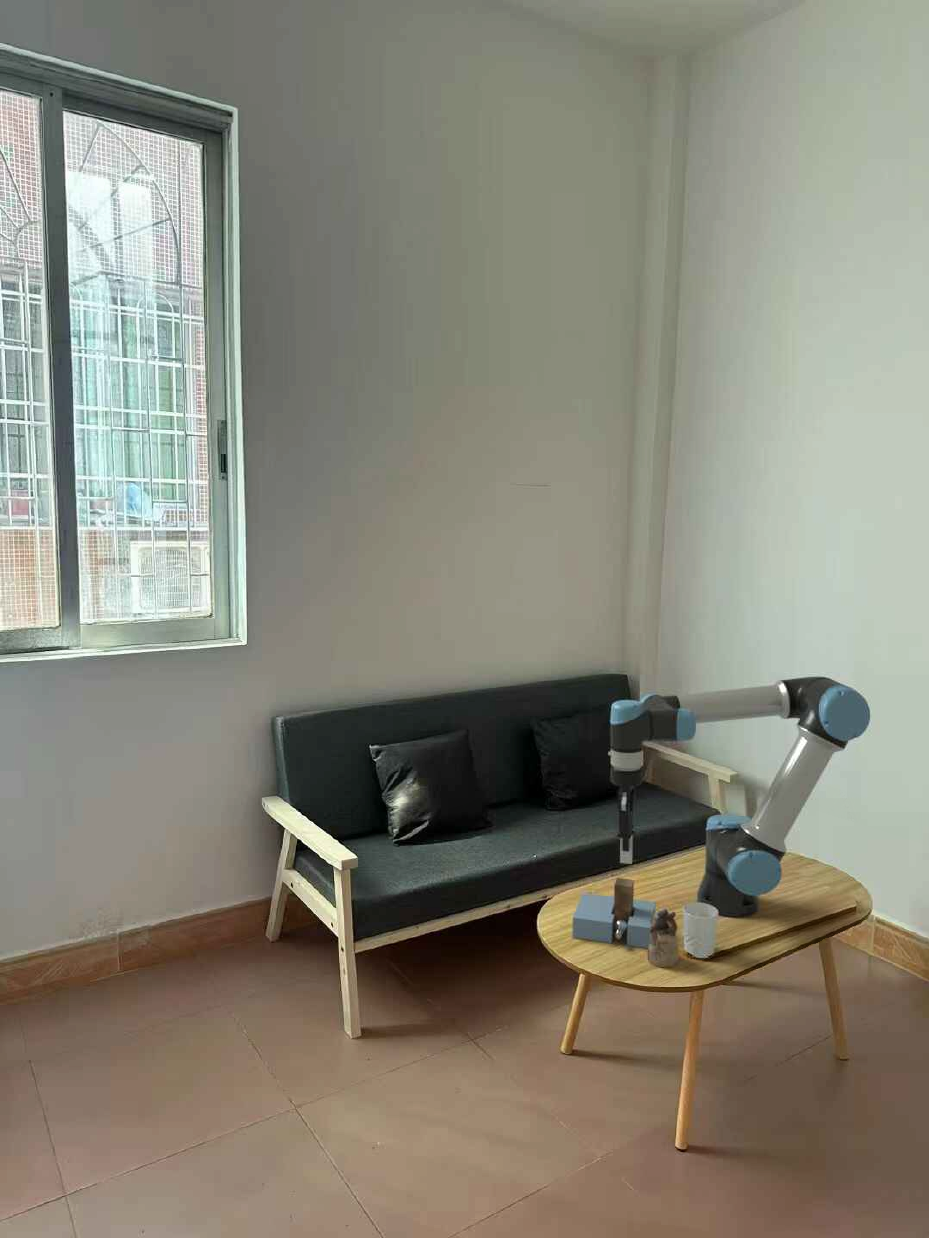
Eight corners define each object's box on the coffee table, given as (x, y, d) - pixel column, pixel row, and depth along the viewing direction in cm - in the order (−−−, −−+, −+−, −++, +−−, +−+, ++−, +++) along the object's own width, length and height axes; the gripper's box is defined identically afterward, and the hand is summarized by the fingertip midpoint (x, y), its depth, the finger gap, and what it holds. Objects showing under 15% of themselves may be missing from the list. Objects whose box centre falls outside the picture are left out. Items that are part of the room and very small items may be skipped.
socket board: (654, 921, 219) (655, 901, 219) (649, 948, 206) (650, 927, 205) (582, 911, 224) (582, 892, 224) (572, 937, 211) (572, 917, 210)
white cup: (690, 939, 210) (691, 899, 209) (722, 949, 205) (724, 908, 204) (675, 952, 204) (676, 911, 203) (707, 963, 199) (709, 921, 198)
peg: (632, 926, 216) (633, 879, 215) (630, 934, 212) (631, 886, 211) (616, 924, 218) (617, 877, 216) (613, 932, 214) (614, 884, 212)
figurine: (656, 948, 206) (658, 899, 204) (684, 958, 201) (686, 908, 200) (640, 960, 200) (642, 910, 199) (669, 971, 196) (670, 919, 194)
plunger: (628, 930, 212) (628, 918, 211) (624, 943, 205) (625, 930, 205) (615, 928, 212) (615, 916, 212) (611, 941, 206) (611, 928, 206)
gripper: (614, 757, 216) (614, 850, 220) (606, 773, 204) (606, 871, 207) (645, 759, 214) (644, 853, 217) (639, 775, 202) (639, 874, 205)
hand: (626, 861), depth 212 cm, fingers closed
